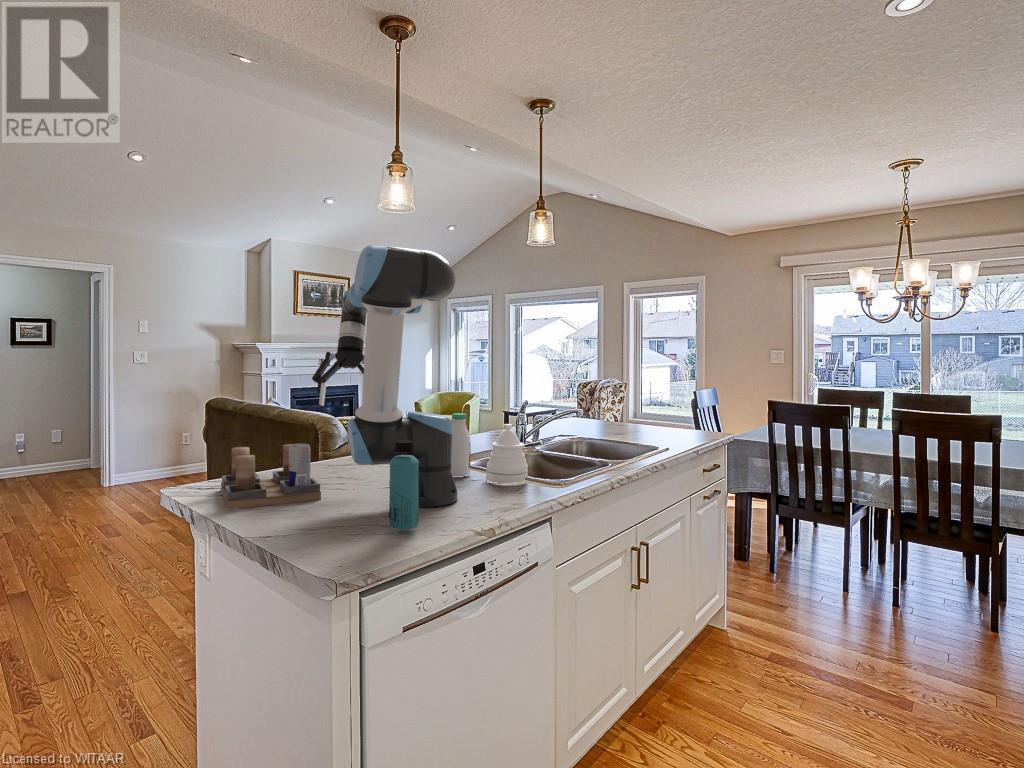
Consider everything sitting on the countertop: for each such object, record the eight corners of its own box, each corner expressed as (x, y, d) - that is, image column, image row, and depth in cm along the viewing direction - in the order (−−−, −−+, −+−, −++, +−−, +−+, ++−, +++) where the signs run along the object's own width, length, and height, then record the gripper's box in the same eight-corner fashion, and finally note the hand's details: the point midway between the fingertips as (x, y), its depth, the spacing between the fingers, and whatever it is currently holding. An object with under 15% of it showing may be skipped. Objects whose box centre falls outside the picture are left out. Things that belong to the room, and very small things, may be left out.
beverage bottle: (424, 529, 122) (425, 439, 121) (409, 538, 115) (410, 443, 114) (398, 525, 124) (399, 437, 123) (382, 534, 117) (383, 441, 116)
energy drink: (292, 487, 148) (292, 443, 148) (312, 487, 149) (312, 443, 148) (286, 492, 143) (286, 446, 142) (307, 492, 143) (307, 446, 143)
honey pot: (527, 487, 164) (529, 426, 163) (484, 485, 164) (486, 425, 163) (527, 477, 176) (528, 421, 175) (487, 476, 177) (488, 420, 176)
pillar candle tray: (320, 499, 144) (321, 454, 144) (226, 509, 133) (226, 460, 132) (304, 482, 163) (304, 441, 162) (221, 489, 152) (221, 446, 151)
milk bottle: (466, 478, 172) (467, 415, 171) (442, 477, 174) (443, 414, 173) (472, 473, 180) (474, 413, 179) (450, 472, 181) (451, 412, 180)
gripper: (393, 344, 174) (388, 409, 168) (313, 341, 172) (305, 407, 167) (390, 336, 167) (384, 404, 161) (306, 332, 165) (298, 401, 159)
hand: (344, 405), depth 164 cm, fingers open, 13 cm apart
